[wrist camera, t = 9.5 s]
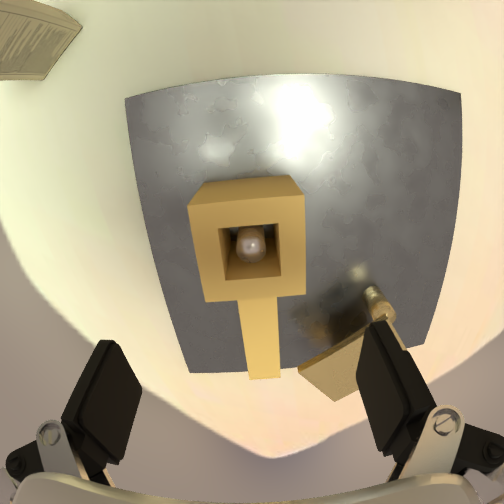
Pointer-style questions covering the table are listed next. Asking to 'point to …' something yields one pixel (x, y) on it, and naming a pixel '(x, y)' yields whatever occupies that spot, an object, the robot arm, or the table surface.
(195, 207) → the link
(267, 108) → the pintle board
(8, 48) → the skincare box
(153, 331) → the table surface
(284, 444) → the table surface
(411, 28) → the table surface
